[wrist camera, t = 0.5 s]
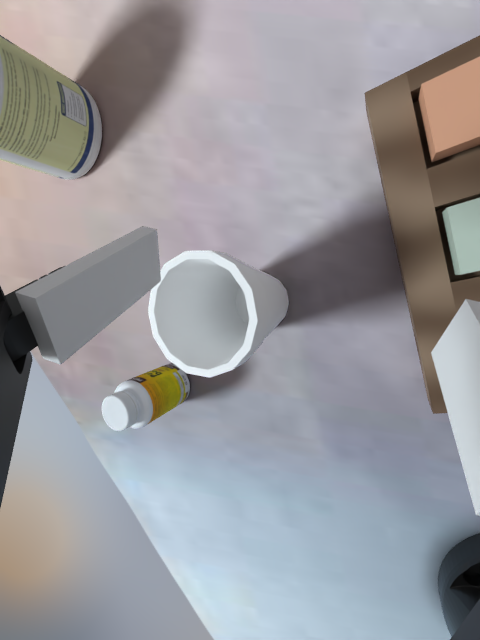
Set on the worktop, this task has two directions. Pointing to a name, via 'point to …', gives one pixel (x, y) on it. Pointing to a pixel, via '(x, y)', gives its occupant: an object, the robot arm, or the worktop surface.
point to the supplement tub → (45, 117)
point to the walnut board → (424, 204)
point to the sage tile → (464, 235)
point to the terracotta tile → (452, 110)
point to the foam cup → (213, 311)
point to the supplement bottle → (145, 398)
